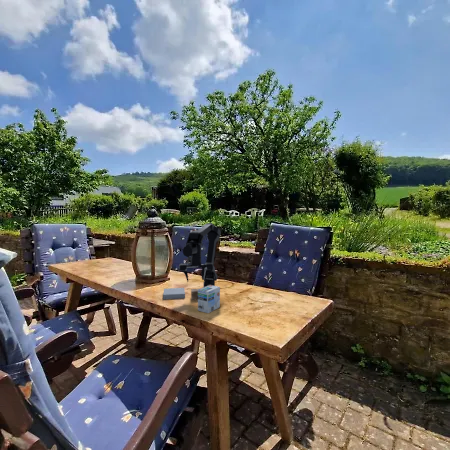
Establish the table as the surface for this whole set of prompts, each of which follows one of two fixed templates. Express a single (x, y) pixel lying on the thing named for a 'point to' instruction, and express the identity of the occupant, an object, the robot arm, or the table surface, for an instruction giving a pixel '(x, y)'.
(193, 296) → the walnut cube
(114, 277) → the table surface
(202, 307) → the light bulb box
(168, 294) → the slate block
